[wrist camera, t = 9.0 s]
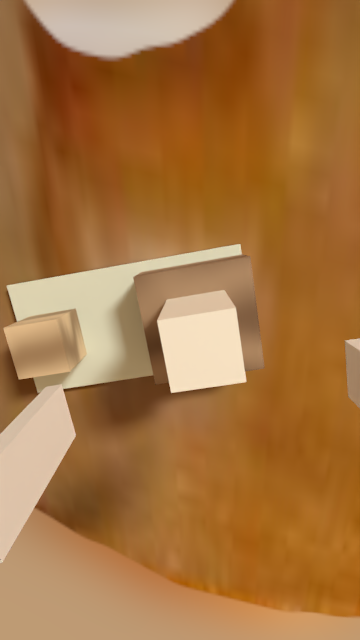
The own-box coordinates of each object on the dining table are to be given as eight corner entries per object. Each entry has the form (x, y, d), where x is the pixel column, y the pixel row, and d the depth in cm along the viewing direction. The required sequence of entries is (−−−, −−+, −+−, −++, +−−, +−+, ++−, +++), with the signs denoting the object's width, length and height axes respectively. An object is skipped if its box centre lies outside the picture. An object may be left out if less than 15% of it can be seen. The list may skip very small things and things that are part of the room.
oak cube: (29, 316, 35) (3, 328, 30) (75, 308, 35) (56, 319, 30) (42, 360, 36) (18, 379, 31) (87, 354, 36) (70, 371, 31)
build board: (10, 284, 35) (6, 285, 34) (239, 243, 33) (240, 243, 33) (40, 389, 38) (37, 392, 37) (254, 357, 36) (255, 359, 35)
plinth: (141, 271, 34) (133, 277, 29) (241, 254, 33) (250, 256, 28) (160, 365, 36) (155, 384, 31) (254, 350, 35) (264, 368, 30)
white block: (166, 299, 29) (157, 320, 21) (224, 289, 29) (235, 307, 21) (176, 353, 30) (171, 393, 22) (232, 345, 30) (246, 382, 22)
